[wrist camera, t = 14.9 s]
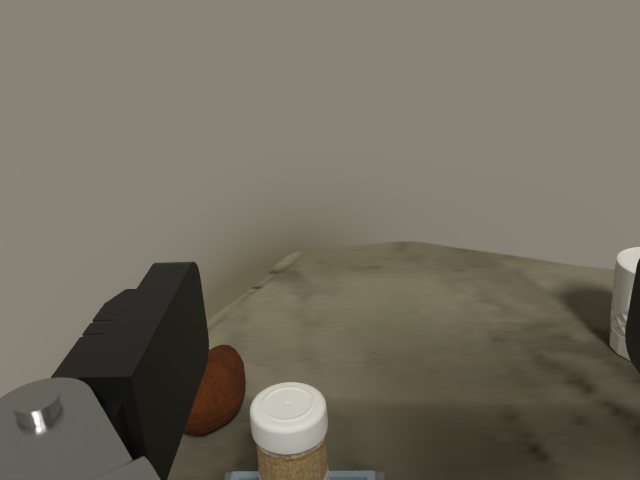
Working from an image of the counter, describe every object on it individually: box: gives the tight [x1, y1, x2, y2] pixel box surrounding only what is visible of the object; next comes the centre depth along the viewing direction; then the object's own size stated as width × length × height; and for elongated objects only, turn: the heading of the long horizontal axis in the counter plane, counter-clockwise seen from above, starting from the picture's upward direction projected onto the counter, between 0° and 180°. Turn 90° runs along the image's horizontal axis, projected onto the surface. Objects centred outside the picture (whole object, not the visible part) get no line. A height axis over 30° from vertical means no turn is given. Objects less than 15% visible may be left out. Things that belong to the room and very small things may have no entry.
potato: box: [184, 345, 245, 435], centre depth 56 cm, size 7×9×6 cm
